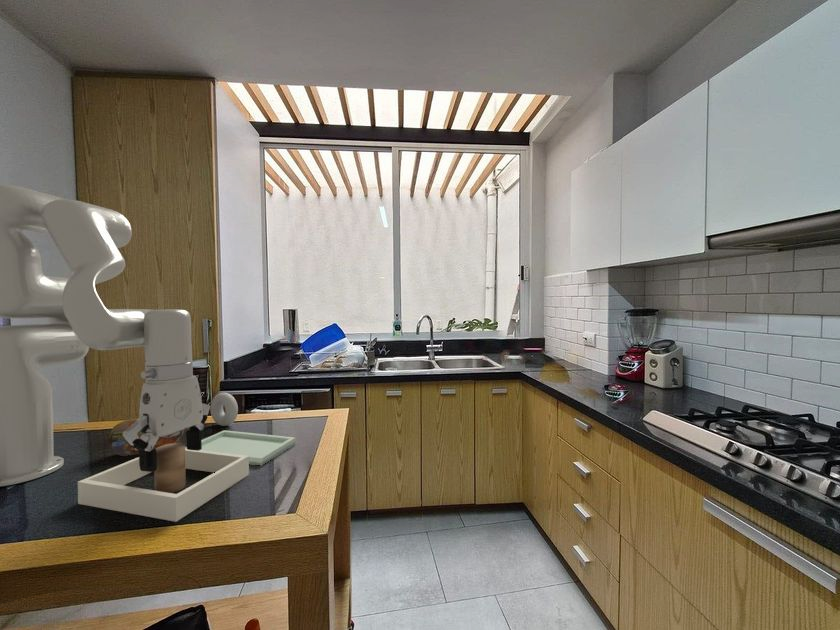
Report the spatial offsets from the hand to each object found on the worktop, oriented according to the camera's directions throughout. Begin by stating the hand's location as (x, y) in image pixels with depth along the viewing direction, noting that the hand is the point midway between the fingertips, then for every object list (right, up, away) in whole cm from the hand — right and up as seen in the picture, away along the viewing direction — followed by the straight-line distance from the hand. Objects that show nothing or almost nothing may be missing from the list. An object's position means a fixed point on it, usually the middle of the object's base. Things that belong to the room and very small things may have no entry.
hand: (173, 459), depth 69 cm
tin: (-19, -6, +18) cm, 27 cm away
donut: (-10, -5, +37) cm, 38 cm away
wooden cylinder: (-1, -6, 0) cm, 6 cm away
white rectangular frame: (-1, -6, 0) cm, 6 cm away
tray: (+4, -5, +19) cm, 20 cm away
